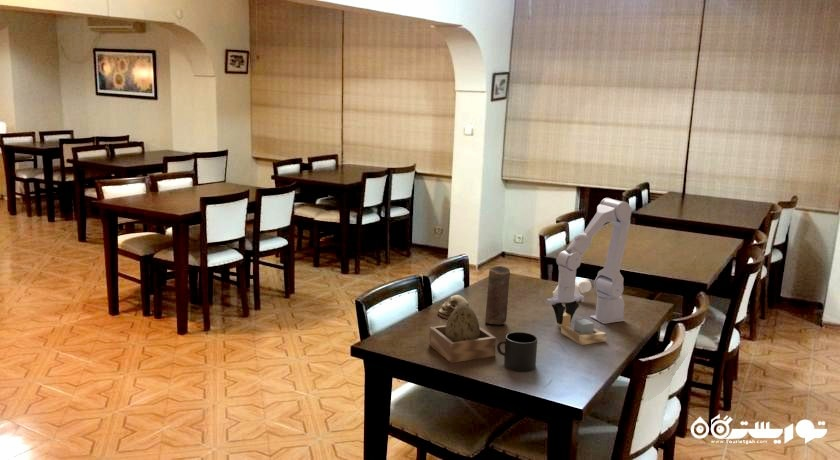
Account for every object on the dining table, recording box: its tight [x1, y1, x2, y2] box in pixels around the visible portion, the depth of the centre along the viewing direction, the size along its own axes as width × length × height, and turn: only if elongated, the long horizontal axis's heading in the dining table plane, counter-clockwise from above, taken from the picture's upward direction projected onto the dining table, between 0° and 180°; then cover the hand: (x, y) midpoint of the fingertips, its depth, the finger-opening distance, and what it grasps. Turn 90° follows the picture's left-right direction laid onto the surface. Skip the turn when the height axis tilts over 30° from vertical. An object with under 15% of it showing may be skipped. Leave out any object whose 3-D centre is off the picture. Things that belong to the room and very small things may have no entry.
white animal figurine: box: [552, 279, 592, 297], centre depth 277 cm, size 9×8×15 cm
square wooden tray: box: [428, 324, 497, 364], centre depth 221 cm, size 15×15×6 cm
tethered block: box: [556, 311, 595, 335], centre depth 240 cm, size 4×15×6 cm, turn 24°
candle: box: [484, 265, 511, 326], centre depth 245 cm, size 8×7×20 cm
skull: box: [437, 294, 470, 320], centre depth 255 cm, size 12×10×10 cm
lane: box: [560, 326, 607, 346], centre depth 236 cm, size 10×12×3 cm
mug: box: [496, 331, 538, 373], centre depth 211 cm, size 9×12×9 cm
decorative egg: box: [445, 305, 481, 342], centre depth 220 cm, size 11×11×15 cm
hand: (563, 322), depth 246 cm, fingers closed on tethered block, 3 cm apart
